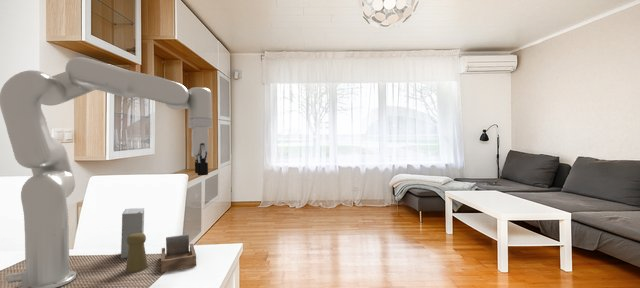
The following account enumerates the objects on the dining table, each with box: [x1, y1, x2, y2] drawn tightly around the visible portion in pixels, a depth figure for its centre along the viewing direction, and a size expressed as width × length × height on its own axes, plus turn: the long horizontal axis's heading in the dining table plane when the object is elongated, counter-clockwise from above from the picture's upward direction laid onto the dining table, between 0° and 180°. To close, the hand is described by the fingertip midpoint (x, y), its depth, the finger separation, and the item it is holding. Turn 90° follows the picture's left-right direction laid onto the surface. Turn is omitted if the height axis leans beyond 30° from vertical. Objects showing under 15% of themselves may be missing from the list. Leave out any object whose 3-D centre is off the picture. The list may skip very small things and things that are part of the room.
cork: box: [125, 233, 149, 273], centre depth 100 cm, size 6×6×11 cm
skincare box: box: [120, 207, 145, 259], centre depth 114 cm, size 8×7×16 cm
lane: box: [160, 243, 197, 273], centre depth 106 cm, size 10×14×3 cm
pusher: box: [165, 234, 190, 256], centre depth 111 cm, size 7×1×6 cm, turn 116°
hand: (201, 174), depth 109 cm, fingers open, 9 cm apart
